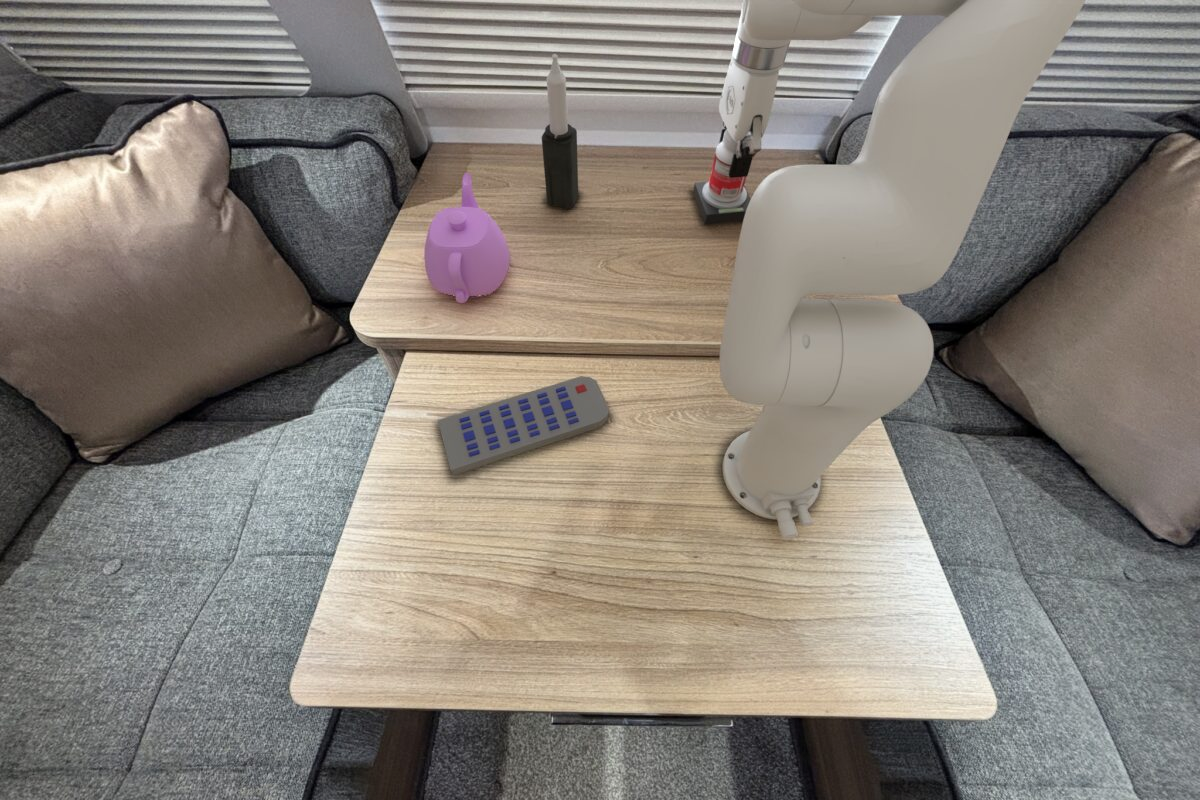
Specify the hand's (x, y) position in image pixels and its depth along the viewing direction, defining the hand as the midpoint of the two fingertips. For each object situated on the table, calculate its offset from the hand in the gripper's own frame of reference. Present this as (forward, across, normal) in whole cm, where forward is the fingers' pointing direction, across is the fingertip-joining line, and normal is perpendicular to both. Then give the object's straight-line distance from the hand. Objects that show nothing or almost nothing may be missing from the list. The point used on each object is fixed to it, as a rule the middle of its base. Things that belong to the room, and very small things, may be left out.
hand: (732, 162), depth 91 cm
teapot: (+9, +10, -46) cm, 48 cm away
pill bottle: (+6, 0, 0) cm, 6 cm away
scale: (+9, 0, 0) cm, 9 cm away
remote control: (+9, +42, -40) cm, 58 cm away
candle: (+9, -6, -29) cm, 31 cm away
